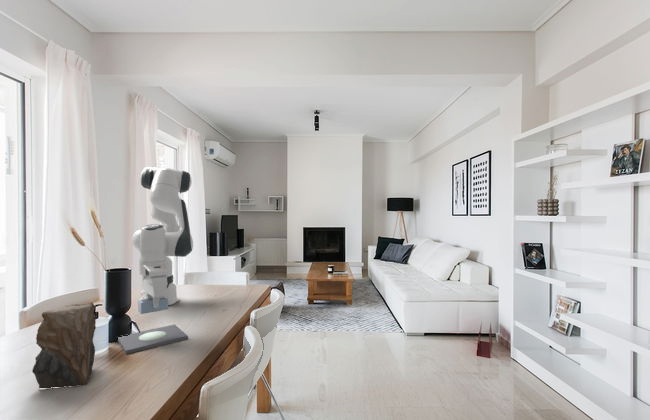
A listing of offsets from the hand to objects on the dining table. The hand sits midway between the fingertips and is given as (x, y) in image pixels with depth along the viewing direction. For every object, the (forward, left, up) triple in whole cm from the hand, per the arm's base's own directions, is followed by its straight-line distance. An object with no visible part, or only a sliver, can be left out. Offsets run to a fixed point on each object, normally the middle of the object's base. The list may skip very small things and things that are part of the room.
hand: (153, 305), depth 121 cm
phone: (0, 0, -2) cm, 2 cm away
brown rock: (+17, -25, -13) cm, 33 cm away
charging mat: (0, 0, -12) cm, 12 cm away
